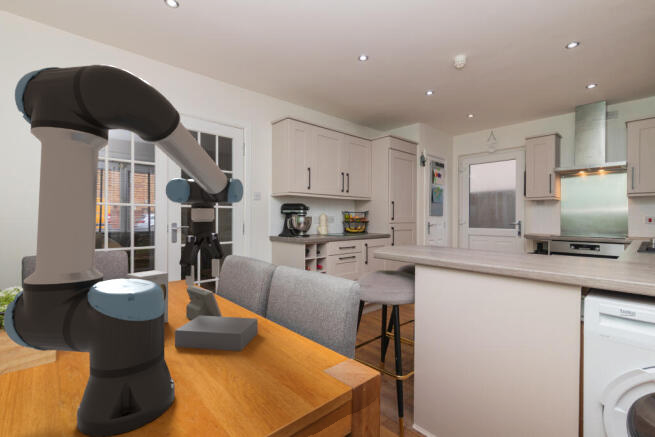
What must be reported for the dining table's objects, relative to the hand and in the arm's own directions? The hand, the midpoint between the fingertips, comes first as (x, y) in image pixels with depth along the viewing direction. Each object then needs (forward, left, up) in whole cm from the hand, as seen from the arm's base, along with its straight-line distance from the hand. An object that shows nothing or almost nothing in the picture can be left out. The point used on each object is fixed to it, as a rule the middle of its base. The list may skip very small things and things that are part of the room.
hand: (203, 280), depth 106 cm
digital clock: (0, 0, -13) cm, 13 cm away
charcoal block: (-15, -17, -13) cm, 26 cm away
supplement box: (-10, +14, -13) cm, 22 cm away
